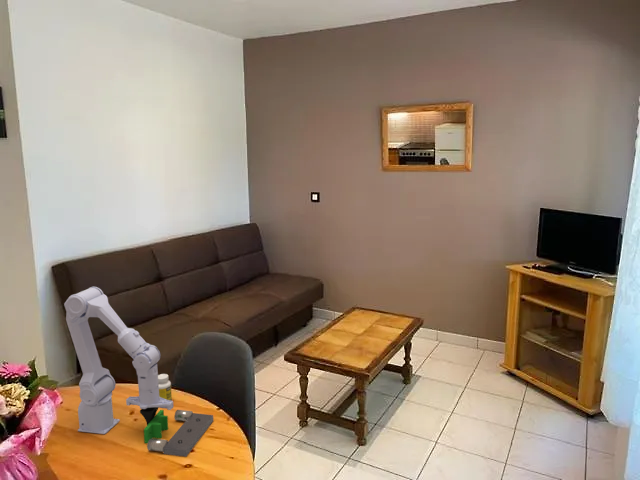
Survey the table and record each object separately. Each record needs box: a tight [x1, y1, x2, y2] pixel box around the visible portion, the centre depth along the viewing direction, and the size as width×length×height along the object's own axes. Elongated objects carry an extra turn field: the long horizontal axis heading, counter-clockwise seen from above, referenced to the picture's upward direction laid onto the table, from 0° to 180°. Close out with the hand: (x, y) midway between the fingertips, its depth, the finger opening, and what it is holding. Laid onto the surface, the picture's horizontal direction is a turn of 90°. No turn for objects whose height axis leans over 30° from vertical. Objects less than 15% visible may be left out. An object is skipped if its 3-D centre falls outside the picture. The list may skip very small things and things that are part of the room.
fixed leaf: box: [146, 409, 214, 458], centre depth 149 cm, size 12×19×3 cm, turn 169°
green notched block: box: [143, 409, 169, 444], centre depth 150 cm, size 11×4×5 cm, turn 173°
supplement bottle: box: [158, 373, 173, 401], centre depth 168 cm, size 5×5×10 cm
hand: (151, 428), depth 151 cm, fingers closed, pressing on green notched block
